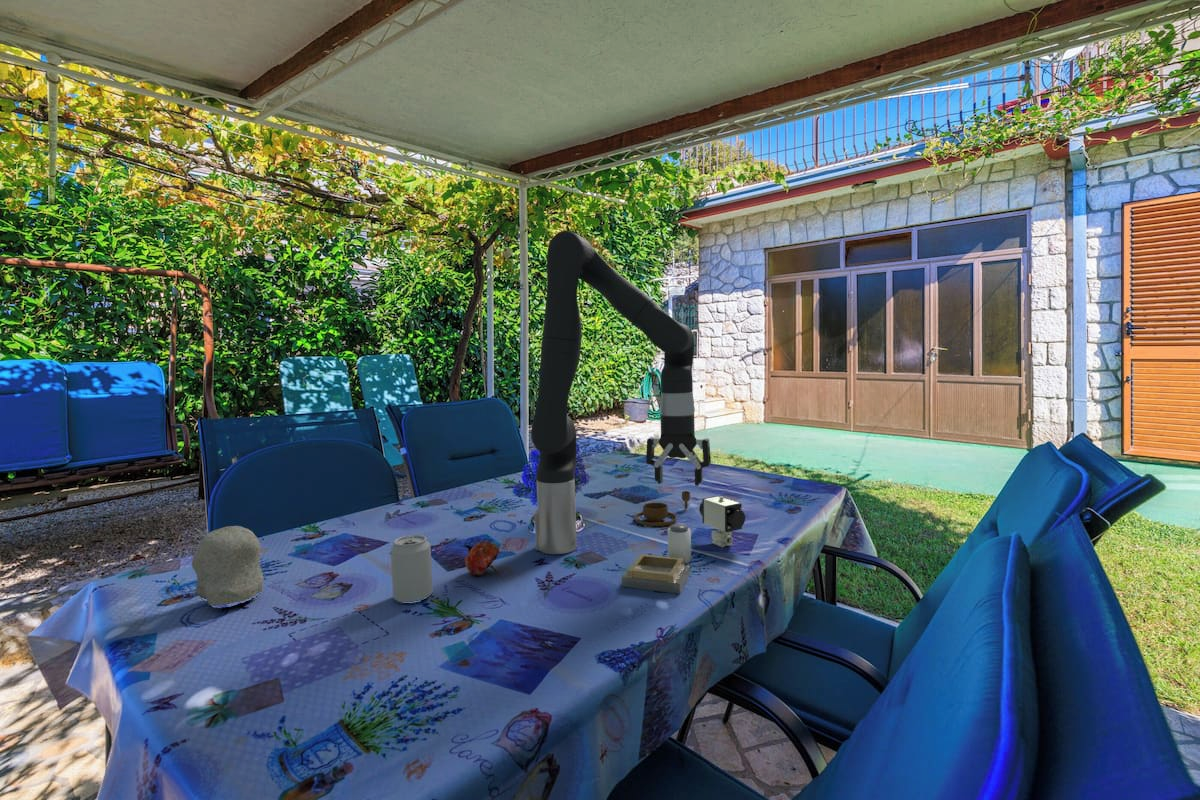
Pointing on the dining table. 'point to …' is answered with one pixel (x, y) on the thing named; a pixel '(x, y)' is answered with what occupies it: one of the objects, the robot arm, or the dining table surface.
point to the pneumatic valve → (722, 518)
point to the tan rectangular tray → (657, 574)
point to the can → (411, 568)
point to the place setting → (659, 512)
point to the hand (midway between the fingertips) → (678, 484)
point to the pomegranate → (481, 557)
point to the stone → (228, 566)
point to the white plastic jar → (679, 542)
